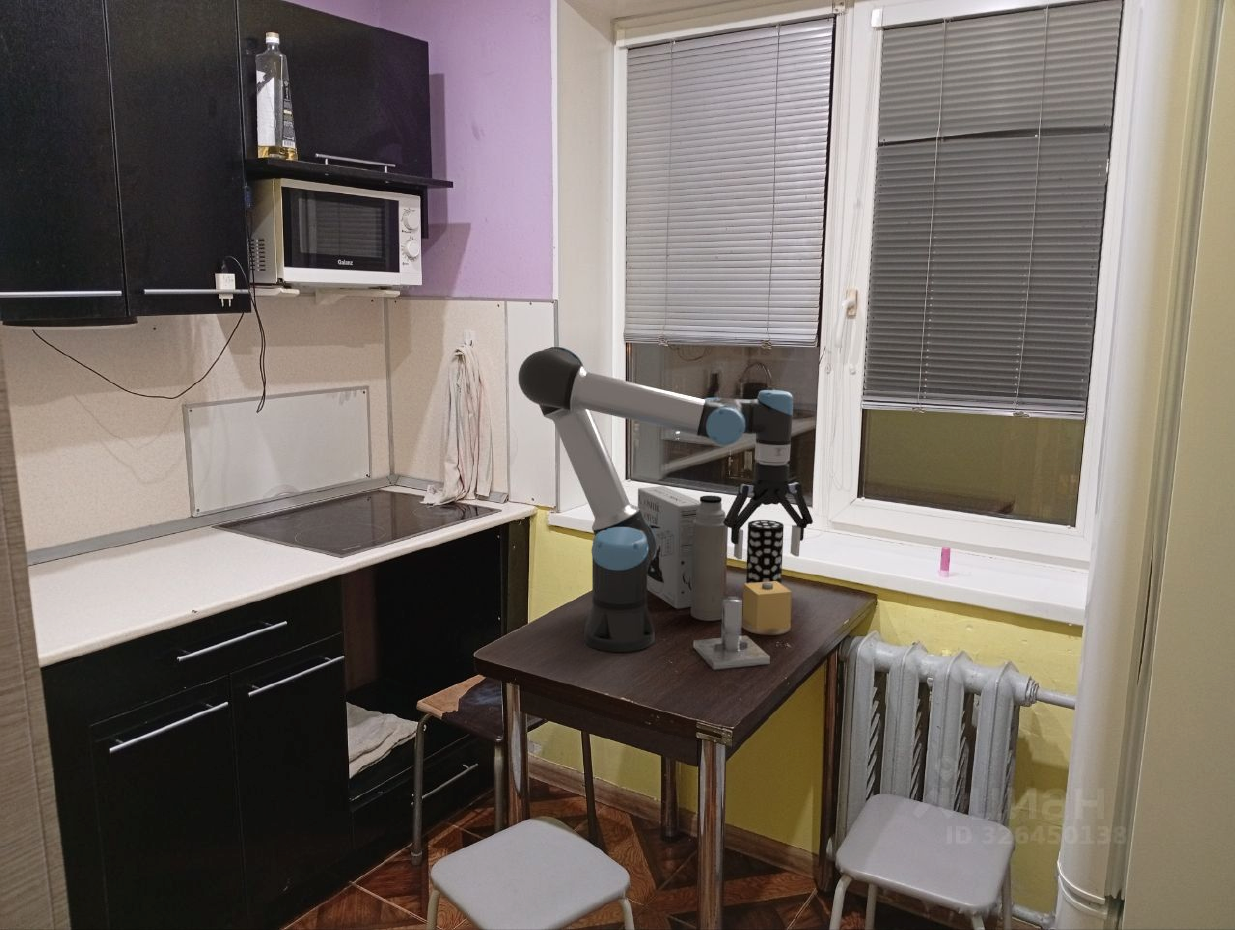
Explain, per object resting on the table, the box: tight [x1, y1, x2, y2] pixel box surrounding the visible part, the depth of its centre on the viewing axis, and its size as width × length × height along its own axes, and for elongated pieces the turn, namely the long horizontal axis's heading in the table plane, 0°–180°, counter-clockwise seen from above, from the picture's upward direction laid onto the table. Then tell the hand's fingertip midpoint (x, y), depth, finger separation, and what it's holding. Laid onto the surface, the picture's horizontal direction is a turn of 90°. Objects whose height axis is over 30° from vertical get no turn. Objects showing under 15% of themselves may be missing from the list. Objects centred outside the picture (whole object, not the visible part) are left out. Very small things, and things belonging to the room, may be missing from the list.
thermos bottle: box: [690, 495, 729, 622], centre depth 211 cm, size 8×8×28 cm
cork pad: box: [741, 618, 792, 636], centre depth 206 cm, size 11×11×1 cm
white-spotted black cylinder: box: [745, 519, 785, 585], centre depth 218 cm, size 8×8×20 cm
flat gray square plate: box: [692, 596, 771, 670], centre depth 188 cm, size 12×12×12 cm
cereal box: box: [637, 485, 701, 610], centre depth 226 cm, size 22×8×25 cm, turn 25°
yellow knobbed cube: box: [742, 581, 793, 630], centre depth 205 cm, size 8×8×9 cm
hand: (766, 556), depth 203 cm, fingers open, 13 cm apart
